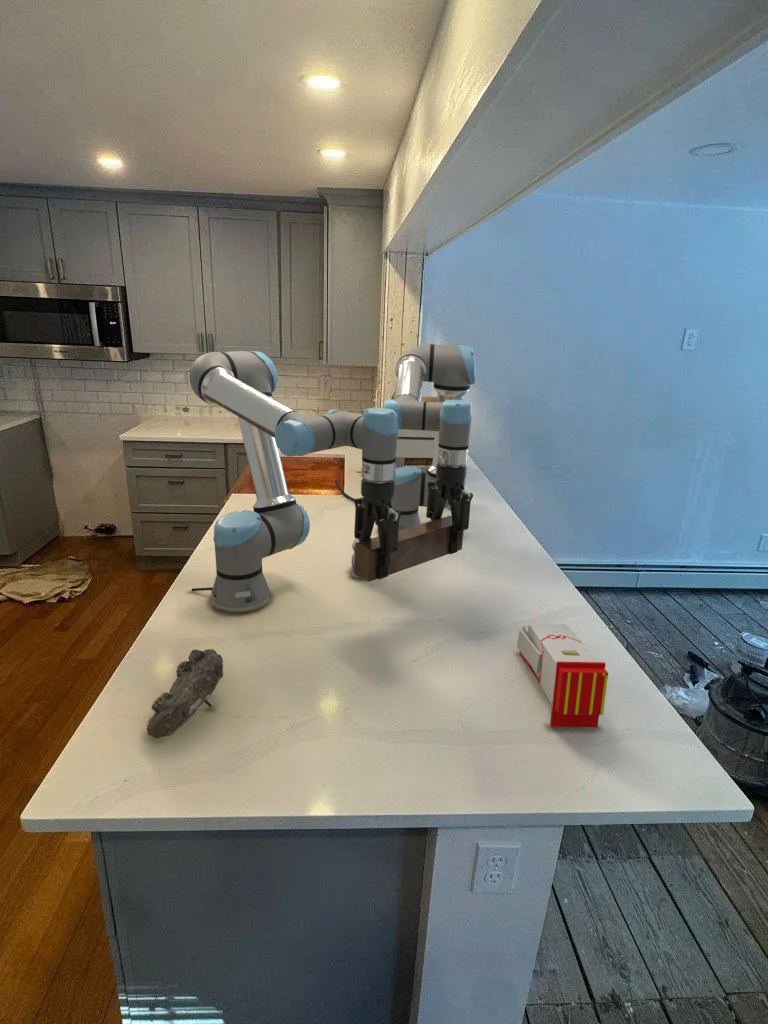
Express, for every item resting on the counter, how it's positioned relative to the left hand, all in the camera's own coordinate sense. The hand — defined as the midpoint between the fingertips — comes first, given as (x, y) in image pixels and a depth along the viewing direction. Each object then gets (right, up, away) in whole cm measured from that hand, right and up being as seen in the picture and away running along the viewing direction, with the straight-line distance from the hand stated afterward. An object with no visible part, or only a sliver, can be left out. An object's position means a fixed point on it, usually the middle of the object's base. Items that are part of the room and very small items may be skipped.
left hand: (374, 572), depth 134 cm
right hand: (+18, +5, +15) cm, 24 cm away
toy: (+39, -23, -12) cm, 46 cm away
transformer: (+20, +33, +141) cm, 146 cm away
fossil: (-35, -23, -23) cm, 48 cm away
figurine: (-4, -4, +35) cm, 35 cm away
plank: (+9, +2, +8) cm, 12 cm away
